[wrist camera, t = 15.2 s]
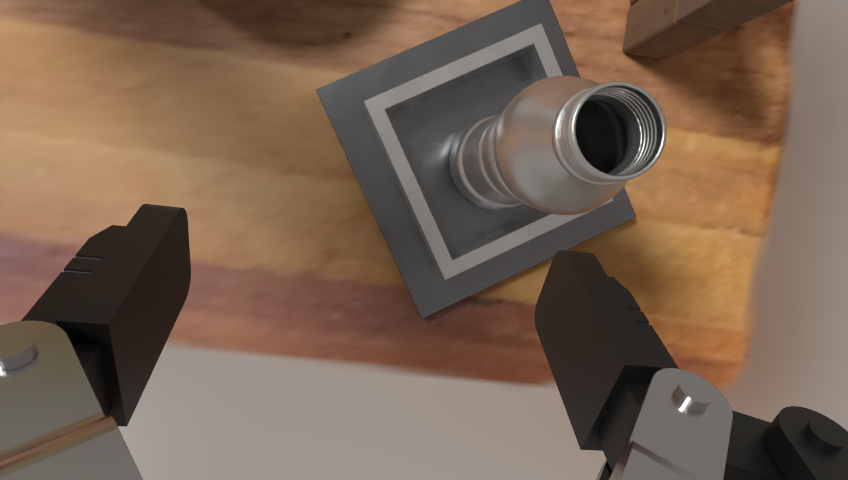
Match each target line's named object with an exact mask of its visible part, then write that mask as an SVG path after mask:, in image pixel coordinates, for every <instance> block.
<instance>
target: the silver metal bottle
mask: <svg viewBox="0 0 848 480" xmlns="http://www.w3.org/2000/svg"><path fill="white" fill-rule="evenodd" d="M665 141H666V122H665V117H664V115H663V112H662V110H661V108H660V106H659V104H658V103H657V101H656V100H655V99H654V98H653V97H652V96H651V94H650V93H648V92H647V91H646V90H644V89H643V88H641V87H639V86H637V85H635V84H632V83H628V82H619V81H614V82H607V83H602V84H599V83H597V82H595V81H592V80H589V79H584V78H580V77H574V76H554V77H549V78H544V79H542V80H539V81H537V82H534V83H532V84H531V85H529V86H528V87H526V88H525V89H523V90H522V91H521V92H520V93H519V94H517V95H516V96H515V97H514V98H513V99H512V100H511V101H510V102H509V103H508V104H507V106H506V108H505V109H504V111H503V112H502V114H494V115H488V116H483V117H480V118H478V119H475V120H473V121H472V122H470V123H469V124H467V125H466V126H465V127H464V128H463V129H462V130H461V131H460V132H459V134H458V135H457V137H456V138H455V140H454V143H453V145H452V148H451V153H450V159H449V162H450V172H451V176H452V178H453V181H454V183H455V185H456V186H457V188H458V189H459V191H460V192H461V193H462V194H463V195H464V196H465V197H466V198H467V199H468V200H469V201H471V202H472V203H474V204H475V205H477V206H480V207H482V208H485V209H489V210H508V209H513V208H515V207H518V206H520V205H523V204H527V205H529V206H530V207H533V208H535V209H538V210H540V211H543V212H547V213H552V214H557V215H577V214H582V213H586V212H589V211H591V210H593V209H596V208H598V207H600V206H601V205H603V204H604V203H606V202H607V201H608V200H610V199H611V198H613V197H614V196H615V195H616V194H617V193H618V192H619V191H620V190H621V189H622V188H623V187H624V186H625V184H626V183H627V181H628V180H629V179H633V178H635V177H637V176H640V175H642V174H643V173H645V172H646V171H648V170H649V169H650V168H651V167H652V166H653V165H654V164H655V163H656V162H657V160H658V159H659V157H660V155H661V154H662V151H663V149H664V146H665Z"/></svg>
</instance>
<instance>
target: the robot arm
mask: <svg viewBox="0 0 848 480" xmlns="http://www.w3.org/2000/svg"><path fill="white" fill-rule="evenodd" d="M190 279H191V264H190V249H189V235H188V220H187V213H186V211H185V209H184V208H178V207H169V206H160V205H151V204H143V205H142V206H141V207H140V208H139V210H138V211H137V212H136V214H135V215H134V216H133V218H132V219H131V220H130V222H129V223H128V225H127V226H116V225H112V226H110V227H108V228H107V229H105V230H103V231H101V232H99V233H98V234H96V235H94V236H92V237H91V238H89V239H88V240H87V242H86V243H85V244H84V245H83V246H82V248H81V249H80V250H79V251H78V253H77V254H76V257H75V258H73V259H72V260H71V261H70V262H69V263H68V265H67V266H66V267H65V268H64V272H61V273H60V274H59V276H58V277H57V278H56V279H55V280H54V282H53V283H52V284H51V285H50V286H49V288H48V289H47V290H46V291H45V293H44V294H43V295H42V296H41V297H40V299H39V300H38V301H37V302H36V303H35V305H34V306H33V307H32V308H31V309H30V311H29V312H28V313H27V314H26V316H25V317H24V318H23V319H22V320H21V321H19V322H12V323H8V324H4V325H0V480H143V479H142V477H141V475H140V473H139V471H138V469H137V466H136V464H135V462H134V460H133V458H132V456H131V454H130V452H129V450H128V447H127V445H126V443H125V441H124V439H123V437H122V435H121V432H120V430H119V428H118V426H127V425H128V423H129V420H130V418H131V416H132V414H133V412H134V410H135V408H136V406H137V404H138V401H139V399H140V397H141V395H142V393H143V390H144V388H145V386H146V384H147V382H148V380H149V378H150V376H151V373H152V371H153V369H154V367H155V365H156V363H157V360H158V358H159V356H160V354H161V352H162V350H163V348H164V345H165V343H166V341H167V339H168V337H169V335H170V333H171V330H172V328H173V326H174V324H175V322H176V320H177V317H178V315H179V313H180V311H181V309H182V307H183V305H184V302H185V300H186V298H187V295H188V291H189V286H190ZM535 325H536V330H537V333H538V335H539V338H540V341H541V343H542V346H543V349H544V352H545V354H546V357H547V360H548V362H549V365H550V368H551V370H552V373H553V376H554V379H555V381H556V384H557V387H558V389H559V392H560V395H561V397H562V400H563V403H564V405H565V408H566V411H567V414H568V416H569V419H570V422H571V425H572V427H573V430H574V433H575V436H576V438H577V441H578V444H579V446H580V449H581V450H602V451H604V454H605V457H606V461H605V463H604V465H603V466H602V468H601V470H600V472H599V475H598V478H597V480H848V432H847V431H846V430H845V429H844V428H842V427H841V426H840V425H839V424H837V423H836V422H834V421H833V420H831V419H829V418H828V417H826V416H824V415H822V414H820V413H818V412H815V411H813V410H810V409H807V408H803V407H796V406H791V407H786V408H784V409H782V410H781V411H780V413H779V414H778V415H777V416H776V418H775V419H774V420H773V422H772V423H770V422H767V421H763V420H760V419H757V418H754V417H751V416H748V415H745V414H742V413H738V412H735V411H732V409H731V407H730V404H729V402H728V401H727V399H726V398H725V397H724V395H723V394H722V393H721V392H720V391H719V390H718V389H717V388H716V387H715V386H713V385H712V384H711V383H709V382H708V381H706V380H705V379H703V378H702V377H700V376H698V375H696V374H694V373H691V372H688V371H685V370H682V369H679V368H678V366H677V365H676V363H675V362H674V360H673V359H672V357H671V356H670V354H669V352H668V351H667V349H666V348H665V346H664V345H663V343H662V341H661V340H660V338H659V337H658V335H657V334H656V332H655V330H654V329H653V327H652V326H651V325H649V321H648V319H647V318H646V316H645V315H644V313H643V312H641V311H640V307H639V305H638V304H637V302H636V301H635V299H634V297H633V296H632V294H631V293H630V292H629V291H628V290H627V289H626V288H625V287H624V286H622V285H621V284H620V283H619V282H618V281H617V280H615V279H614V278H613V277H608V276H607V275H606V273H605V271H604V270H603V268H602V266H601V265H600V263H599V261H598V260H597V258H596V257H595V255H594V254H592V253H584V252H575V251H565V250H559V251H558V252H557V253H556V254H555V256H554V258H553V260H552V263H551V266H550V268H549V271H548V274H547V277H546V279H545V282H544V285H543V288H542V290H541V293H540V296H539V298H538V301H537V305H536V310H535Z"/></svg>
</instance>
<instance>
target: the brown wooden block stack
mask: <svg viewBox="0 0 848 480" xmlns="http://www.w3.org/2000/svg"><path fill="white" fill-rule="evenodd" d="M791 1H793V0H630V3H631V4H632V6H631V7H630V9H629V12H628V19H627V26H626V32H625V39H624V46H623V52H624V53H627V54H632V55H638V56H643V57H649V58H655V59H661V60H663V59H667V58H669V57H671V56H673V55H675V54H677V53H680V52H682V51H684V50H686V49H688V48H690V47H693V46H695V45H697V44H699V43H701V42H703V41H706V40H708V39H710V38H712V37H714V36H716V35H719V34H721V33H722V32H723V31H728V30H730V29H732V28H735V27H737V26H739V25H741V24H743V23H745V22H748V21H750V20H752V19H754V18H756V17H758V16H761V15H763V14H765V13H767V12H769V11H771V10H774V9H776V8H778V7H780V6H782V5H784V4H787V3H789V2H791Z"/></svg>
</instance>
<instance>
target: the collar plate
mask: <svg viewBox="0 0 848 480" xmlns="http://www.w3.org/2000/svg"><path fill="white" fill-rule="evenodd" d="M554 76H574V77H580V76H579V74H578V71H577V69H576V66H575V64H574V61H573V59H572V56H571V54H570V51H569V49H568V46H567V44H566V41H565V39H564V36H563V34H562V31H561V29H560V26H559V24H558V21H557V19H556V16H555V14H554V11H553V9H552V6H551V4H550V2H549V0H521V1H519V2H517V3H514V4H512V5H510V6H508V7H505V8H503V9H501V10H498V11H496V12H494V13H491V14H489V15H487V16H485V17H482V18H480V19H478V20H475V21H473V22H471V23H468V24H466V25H464V26H462V27H459V28H457V29H455V30H452V31H450V32H448V33H445V34H443V35H441V36H439V37H436V38H434V39H432V40H429V41H427V42H425V43H423V44H420V45H418V46H416V47H413V48H411V49H409V50H406V51H404V52H402V53H400V54H397V55H395V56H393V57H390V58H388V59H386V60H383V61H381V62H379V63H377V64H374V65H372V66H370V67H367V68H365V69H363V70H360V71H358V72H356V73H354V74H351V75H349V76H347V77H344V78H342V79H340V80H337V81H335V82H333V83H331V84H328V85H326V86H324V87H321V88H319V89H317V90H316V91H317V94H318V96H319V98H320V100H321V102H322V104H323V106H324V109H325V111H326V113H327V115H328V117H329V119H330V122H331V124H332V126H333V128H334V130H335V132H336V134H337V137H338V139H339V141H340V143H341V145H342V147H343V150H344V152H345V154H346V156H347V158H348V160H349V163H350V165H351V167H352V169H353V171H354V173H355V175H356V178H357V180H358V182H359V184H360V186H361V188H362V191H363V193H364V195H365V197H366V199H367V201H368V203H369V206H370V208H371V210H372V212H373V214H374V216H375V219H376V221H377V223H378V225H379V227H380V229H381V232H382V234H383V236H384V238H385V240H386V242H387V244H388V247H389V249H390V251H391V253H392V255H393V257H394V260H395V262H396V264H397V266H398V268H399V270H400V273H401V275H402V277H403V279H404V281H405V283H406V285H407V288H408V290H409V292H410V294H411V296H412V298H413V301H414V303H415V305H416V307H417V309H418V311H419V313H420V316H421V318H422V319H423V318H425V317H427V316H429V315H431V314H433V313H435V312H437V311H439V310H441V309H444V308H446V307H448V306H450V305H452V304H454V303H456V302H458V301H460V300H462V299H465V298H467V297H469V296H471V295H473V294H475V293H477V292H479V291H481V290H483V289H486V288H488V287H490V286H492V285H494V284H496V283H498V282H500V281H502V280H504V279H507V278H509V277H511V276H513V275H515V274H517V273H519V272H521V271H523V270H525V269H527V268H530V267H532V266H534V265H536V264H538V263H540V262H542V261H544V260H546V259H548V258H551V257H553V256H555V254H556V253H557V252H558V251H559V250H567V249H569V248H572V247H574V246H576V245H578V244H580V243H582V242H584V241H586V240H588V239H590V238H592V237H595V236H597V235H599V234H601V233H603V232H605V231H607V230H609V229H611V228H613V227H616V226H618V225H620V224H622V223H624V222H626V221H628V220H630V219H632V218H634V217H636V216H635V213H634V211H633V208H632V206H631V203H630V201H629V198H628V196H627V193H626V191H625V188H624V187H623V188H622V189H621V190H620V191H619V192H618V193H617V194H616V195H615V196H614V197H613V198H611V199H610V200H608V201H607V202H606V203H604V204H603V205H601V206H600V207H598V208H596V209H593V210H591V211H589V212H586V213H582V214H577V215H557V214H552V213H547V212H543V211H540V210H538V209H535V208H533V207H530V206H529V205H527V204H523V205H520V206H518V207H515V208H513V209H508V210H489V209H485V208H482V207H480V206H477V205H475V204H474V203H472V202H471V201H469V200H468V199H467V198H466V197H465V196H464V195H463V194H462V193H461V192H460V191H459V189H458V188H457V186H456V185H455V183H454V181H453V178H452V176H451V172H450V162H449V159H450V153H451V148H452V145H453V143H454V140H455V138H456V137H457V135H458V134H459V132H460V131H461V130H462V129H463V128H464V127H465V126H466V125H467V124H469V123H470V122H472V121H473V120H475V119H478V118H480V117H483V116H488V115H494V114H502V112H503V111H504V109H505V108H506V106H507V104H508V103H509V102H510V101H511V100H512V99H513V98H514V97H515V96H516V95H517V94H519V93H520V92H521V91H522V90H523V89H525V88H526V87H528V86H529V85H531V84H532V83H534V82H537V81H539V80H542V79H544V78H549V77H554Z"/></svg>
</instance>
